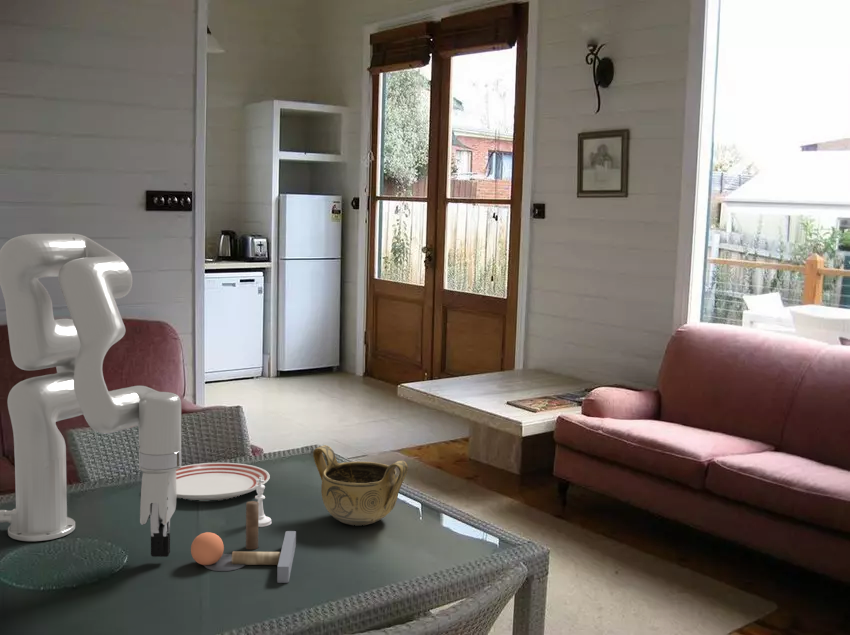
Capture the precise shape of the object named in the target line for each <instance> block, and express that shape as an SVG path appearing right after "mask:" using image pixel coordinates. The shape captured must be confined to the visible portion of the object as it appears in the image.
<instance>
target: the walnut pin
mask: <svg viewBox="0 0 850 635" xmlns="http://www.w3.org/2000/svg"><path fill="white" fill-rule="evenodd" d="M258 515H259V503H258V501H255V500H252V501H246V504H245V550H246V549H247V550H250V551H251V550H253V551H254V550H257V549H258V548H259V527H258Z"/></svg>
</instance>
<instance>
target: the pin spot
mask: <svg viewBox="0 0 850 635" xmlns="http://www.w3.org/2000/svg"><path fill="white" fill-rule="evenodd" d="M245 566H247V565H246V564H232V553H223V554H222V556H221V558H220V559H219V560H218V561H217V562H216V563H214V564H212V565H203V567H204V568H206V569H208V570H210V571H213V572H230V571H231V572H232V571H237V570H239V569H242V568H244V567H245Z"/></svg>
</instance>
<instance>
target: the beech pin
mask: <svg viewBox="0 0 850 635" xmlns="http://www.w3.org/2000/svg"><path fill="white" fill-rule="evenodd" d="M231 554H232V564H246V565H245V566H248V565H249V566H252V565H253V566H278V562H279V558H280V554H281V551H237V550H236V551H235V550H233V551H232V553H231Z"/></svg>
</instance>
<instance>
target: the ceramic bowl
mask: <svg viewBox="0 0 850 635" xmlns="http://www.w3.org/2000/svg"><path fill="white" fill-rule="evenodd" d="M312 458H313V460H314V463H315V466H316V469H317V471H318V474H319V477H320V480H321V498H322V501H323V505H324V507H325V509H326V510H327V512H328V513H329V514H330V515H331V516H332V517H333V518H334V519H335V520H337V521H339V522H341V523H343V524H346V525H350V526H354V525H355V526H357V527H359V526H360V527H361V526H362V525H363V526H367V525H371V524H374V523H376V522H378V521H380V520H382V519H384V518H385V517H386V516H387V515H388V514H390V513H391V511H392V510H393V509H394V508H395V506H396V504H397V502H398V497H399V493H400V490H401V487H402V485H403V483H404V480H405V478H406V476H407V474H408V471H409V466H408V464H407V462H406V461H405V460H402V459H400V460H397V461H396V462H394V463H392V464H384V463H380V462H375V461H345V462H340V463H339V462H338V461H337V456H336V454H335V452H334V450H333V448H332V447H331V446H329V445H327V444H323V445H321V446H318V447H316V448H315V449H313V451H312ZM396 468H397V469H398V470H399V474H398V470H397V469H396Z"/></svg>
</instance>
